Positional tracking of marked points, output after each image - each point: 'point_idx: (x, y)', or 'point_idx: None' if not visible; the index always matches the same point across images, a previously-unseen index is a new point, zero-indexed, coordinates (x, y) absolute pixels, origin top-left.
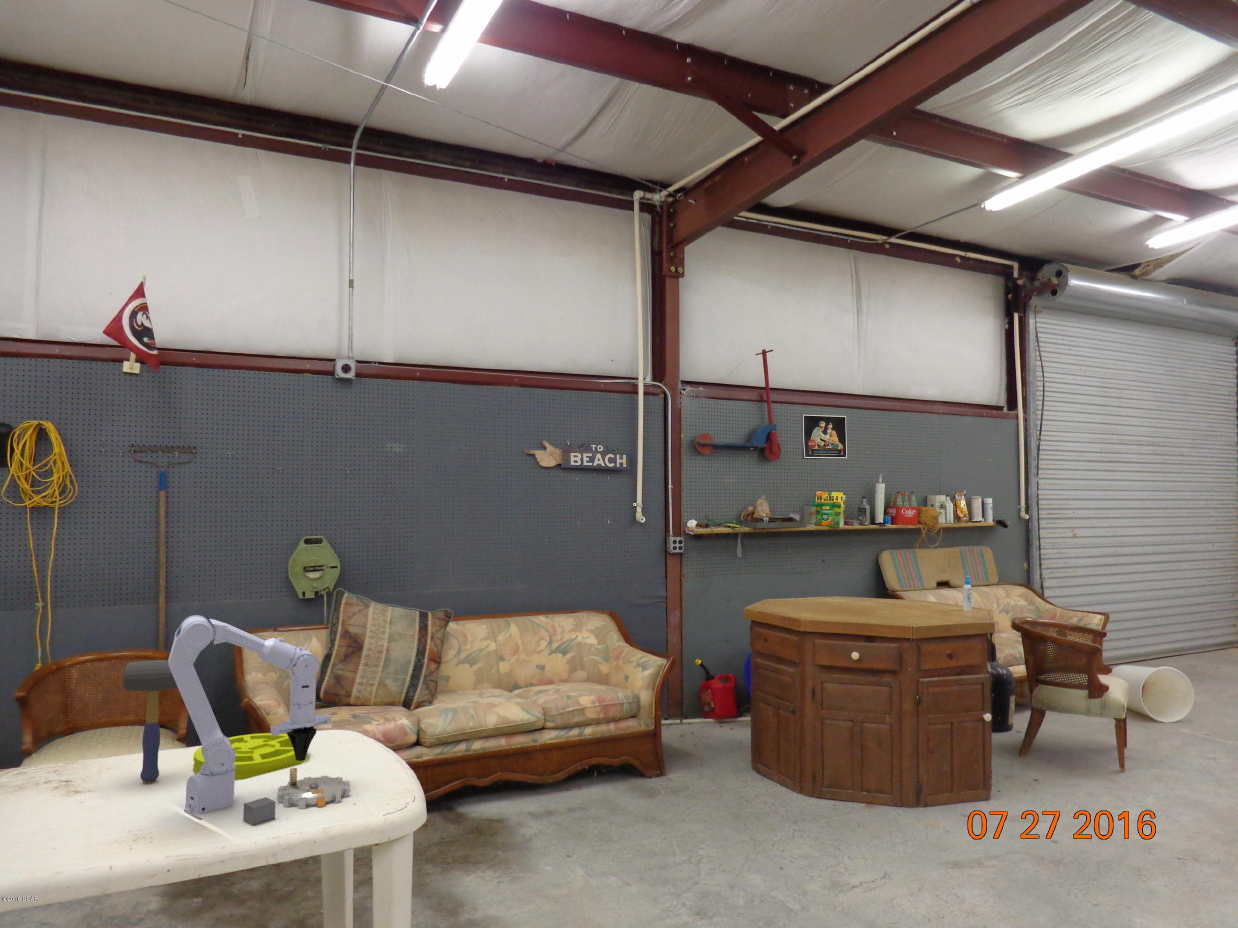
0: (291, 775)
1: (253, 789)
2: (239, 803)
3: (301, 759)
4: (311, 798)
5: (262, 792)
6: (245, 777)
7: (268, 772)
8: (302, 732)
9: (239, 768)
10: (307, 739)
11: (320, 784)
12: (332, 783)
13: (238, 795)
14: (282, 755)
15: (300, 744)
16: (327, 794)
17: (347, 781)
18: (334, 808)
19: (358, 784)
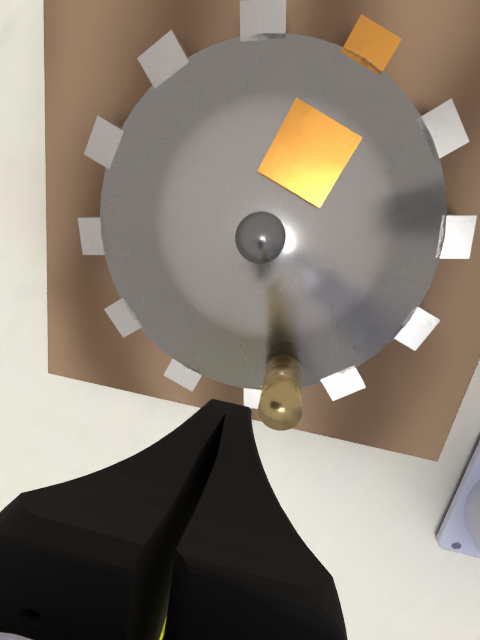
0: (301, 388)
1: (296, 528)
2: (436, 474)
3: (241, 407)
4: (405, 95)
5: (302, 483)
6: None
7: None
8: (196, 634)
9: None
10: (166, 491)
11: (213, 240)
12: (166, 193)
13: (369, 531)
14: None
15: (259, 487)
16: (315, 48)
17: (97, 141)
18: None
19: (19, 217)
